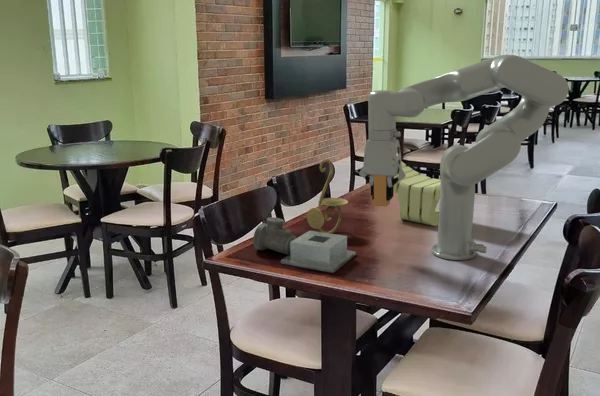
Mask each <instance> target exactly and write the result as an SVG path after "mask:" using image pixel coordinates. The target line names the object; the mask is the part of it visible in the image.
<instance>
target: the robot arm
mask: <svg viewBox="0 0 600 396" xmlns="http://www.w3.org/2000/svg"><path fill="white" fill-rule="evenodd" d="M503 88H506V89H507V90H510V91H511V92H513V93H516V94H518V95H520V96H521V99H520V101H519V103H518V105H517V106H516V107H515V108H513V109H512V110H511V111H509V112H508V113H506V114H505V115H503V116H502V117H500V118H499V119H497V120H495V121H494V122H492V123H491V124H489V125H487V126H485V127H484V128H483V129H481V130H480V131H479V132H478V133H477V135H476V137H475V143H474V144H472V145H471V146H469V147H468V146H465V145H462V144H456V145H451V146H450V147H448V148H446V150H444V152H443V154H442V156H441V158H440V164H439V169H440V170H439V172H440V175H439V176H440V177H439V178H440V180H441V188H440V199H439V206H438V207H439V209H438V210H439V223H438V225H437V226H438V227H437V243H436V244H434V245H432V246H431V253H432V254H433V255H434V256H436V257H438V258H441V259H446V260H451V261H467V260H470V259H473V258H475V257H476V255H477V253H481V254H487V251H488V250H487V249H488V248H487V245H486V246H485V244H483V243H476V242H475V238H474V237H473V225H474V223H473V222H474V211H475V210H474V209H475V200H476V198H475V197H476V184H478V183H481V182H482V181H483V180H486V179H487V178H489V177H490V176H492V175H493V174H495V173H497V172H498V171H500V170H502V169H504V168H505V167H506V166H507V165H509V164H511V163H512V162H513V161H514V160H515V159H516V158H517V157H518V156H519V153H520V151H521V146H522V142H523V141H525V140H526V139H528V137H531V136H532V135H533V134H535V133H536V132H537V131H538V130H539V129H541V127H542V126H543V125H544V124H545V122H546V120H547V118H548V115H549V112H550V109H551V107H552V108H553V107H556V106H559V105H560V104H562V103H563V102H565V100H566V99H567V97H568V95H569V84H568V81H567V80H566V78H565V77H563V76H562V75H561V74H559V73H557V72H555V71H552V70H550V69H548V68H545V67H544V66H541V65H539V64H536V63H534V62H532V61H530V60H529V59H526V58H524V57H521V56H519V55H516V54H502V55H497V56H494V57H491V58H489V59H486V60H482V61H479V62H476V63H474V64H472V65H468V66H464V67H462V68H459V69H456V70H453V71H450V72H448V73H447V72H446V73H444V74H442V75H439V76H436V77H433V78H429V79H426V80H424V81H420V82H417V83H415V84H412V85H409V86H406V87H403V88H402V89H399V91H393V90H388V89H386V90H384V89H383V90H374V91H370V93H369V94H368V104H367V105H368V106H367V107H368V110H367V111H368V112H367V113H368V139H366V141H365V146H364V153H363V154H364V155H363V166H362V167H361V169H360V171H359V172H358V174H359V176H360V177H362V178H363V179H364V180H366V182H367V183H368V185H369V186H370V196H371V200H374V175H383V176H387V182H388V187H387V188H386V200H387V201H389V200H390V201H391V200H392V199H393V197H394V192H393V190H394V185H395V184H396V183H397V182H398V181H399V180H401V179H403V178H405V177H406V175H405V173H404V171H403V169H402V164H401V161H402V153H401V145H400V140H399V139H397V138H398V137H401V135H402V134H401V133H402V132H401V131H398V130H397V128H396V127H397V125H396V124H397V123H396V122H397V121H396V120H397V119H396V118H397V117H400V118H408V119H410V118H417V117H418V116H420V115H421V114H422V113H423V112H424V111H425V109H426V108H429V107H432V106H435V105H439V104H440V105H441V104H444V103H458V102H464V101H468V100H471V99H473V98H474V99H475V97H479V96H482V95H485V94H488V93H490V92H491V93H492V92H494V91H497V90H500V89H503ZM397 174H399V176H397V177H396V178H394V176H396V175H397Z"/></svg>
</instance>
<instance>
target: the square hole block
mask: <svg viewBox="0 0 600 396" xmlns="http://www.w3.org/2000/svg"><path fill="white" fill-rule="evenodd" d="M290 251H291V254H290V255H286V256H285V257H284V258H283V257H282V259H281V260H280V264H282V265H287V266H293V267H297V268H304V269H309V270H314V271H315V270H316V271H321V272H326V273H332V274H334V273H335V272H336V271H338V270H339V269H340V268H341V267H343V266H344V265H345V264H346V263H348V262H349V261H350V260H351V259H353V258H354V257H355V256H356V255H357V251H354V250H348V235H342V234H335V233H332V234H330V233H323V232H320V231H315V230H308V231H307V232H305V233H303V234H301V235H300V236H298V237H296V239H295V240H293V241H291V242H290ZM347 261H348V262H347Z"/></svg>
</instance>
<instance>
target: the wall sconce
mask: <svg viewBox="0 0 600 396" xmlns="http://www.w3.org/2000/svg"><path fill="white" fill-rule="evenodd" d="M325 163H328V164H329V173H328V176H327V179H326V182H325V184H324V186H323V189H322V190H321V194H320V196H319V200H318V204H317V207H311V208H310V209H309V210H308V212H307V214H306V219H307V223H308V224H309V226H310V227H311V228H312V229H315V230H318V232H323V233H330V234H334V233H335V232H336V231H337V229H338V228H339V226H340V224H341V222H342V209H341V206H345V205H347V204H349V201H348V199H345V198H340V197H326V198H324V197H325V193H326V190H327V188H328V186H329V183H330V181H331V179H332V176H333V172H334V166H333V163H332V161H331V160H330V159H329V158H324V159H322V161H321V162H320V164H319V169H318V170H319V171H320V172H321V173H325V172H326V170H327V168H326V167H324V168H323V166H324V164H325ZM322 206H327V208H326V209H325V211H324V214H323V212H322V211H321V209H322ZM335 208H336V209H337V211H338V217H337V218H338V219H337V223H336V224H335V226H334V227H333V228H332V229H331V230H329V231H324V229H323V228H322V227H323V225H325V221H328V222H329V221H331V220H332V219H333V218H332V217H328V215H329V211H330V210H331V211H330V213H331V216H335V212H336V210H334V209H335Z"/></svg>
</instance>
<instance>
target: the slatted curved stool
mask: <svg viewBox="0 0 600 396" xmlns="http://www.w3.org/2000/svg"><path fill="white" fill-rule="evenodd" d="M401 164H402V169H403V171H404V173H405V175H406V177H405V178H403V179H401V180H399V181H398V182H397V183H396V184H395V185H394V190H393V193H394V194H397V199H398V202H399V203H398V204H399V209H400V213H399V215H400V219H401V220H405V221H409V222H414V223H419V224H424V225H429V226H434V227H436V226H438V223H439V209H436V207H437V205H438V203H440V188H441V179H439V178H435V177H434V178H431V177H429V176H427V175H425V174H422V173H421V174H420V172H419V171H416V170H414V169H413V168H412V167H410V166H408V165H407V164H406V163H404V161H402V160H401ZM397 176H399V174H397V175H396V176H394V178H396V177H397Z"/></svg>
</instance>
